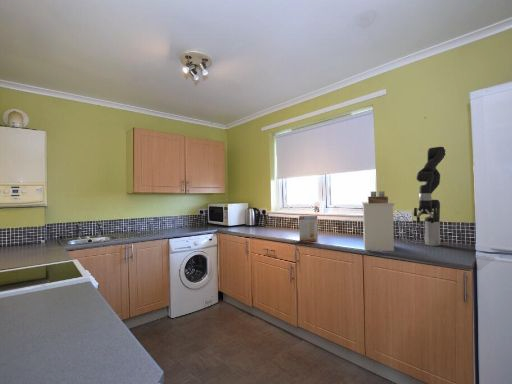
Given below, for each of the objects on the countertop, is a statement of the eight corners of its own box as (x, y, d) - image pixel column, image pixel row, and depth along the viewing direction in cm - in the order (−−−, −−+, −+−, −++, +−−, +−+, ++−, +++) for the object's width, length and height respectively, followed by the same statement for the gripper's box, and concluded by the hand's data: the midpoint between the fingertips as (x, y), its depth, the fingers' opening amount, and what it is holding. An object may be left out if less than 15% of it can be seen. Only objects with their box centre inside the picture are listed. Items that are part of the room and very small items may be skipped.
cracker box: (318, 240, 227) (317, 215, 227) (315, 241, 222) (315, 216, 222) (302, 239, 235) (301, 214, 235) (299, 240, 230) (298, 215, 230)
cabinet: (362, 243, 212) (362, 202, 212) (390, 244, 206) (389, 201, 206) (364, 249, 189) (363, 203, 189) (394, 251, 183) (394, 203, 183)
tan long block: (366, 201, 221) (366, 191, 221) (382, 201, 217) (382, 191, 217) (368, 203, 189) (368, 191, 189) (388, 203, 185) (387, 191, 185)
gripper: (438, 200, 192) (438, 223, 191) (416, 199, 203) (416, 221, 202) (434, 200, 187) (435, 223, 187) (412, 199, 198) (412, 222, 198)
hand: (425, 222), depth 194 cm, fingers open, 8 cm apart
